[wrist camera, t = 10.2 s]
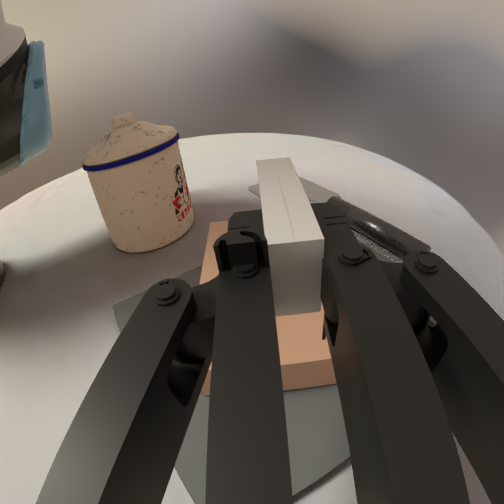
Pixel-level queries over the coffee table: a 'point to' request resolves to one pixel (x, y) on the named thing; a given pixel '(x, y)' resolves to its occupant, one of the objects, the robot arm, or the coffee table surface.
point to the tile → (284, 334)
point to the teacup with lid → (140, 184)
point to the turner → (362, 221)
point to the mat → (297, 420)
